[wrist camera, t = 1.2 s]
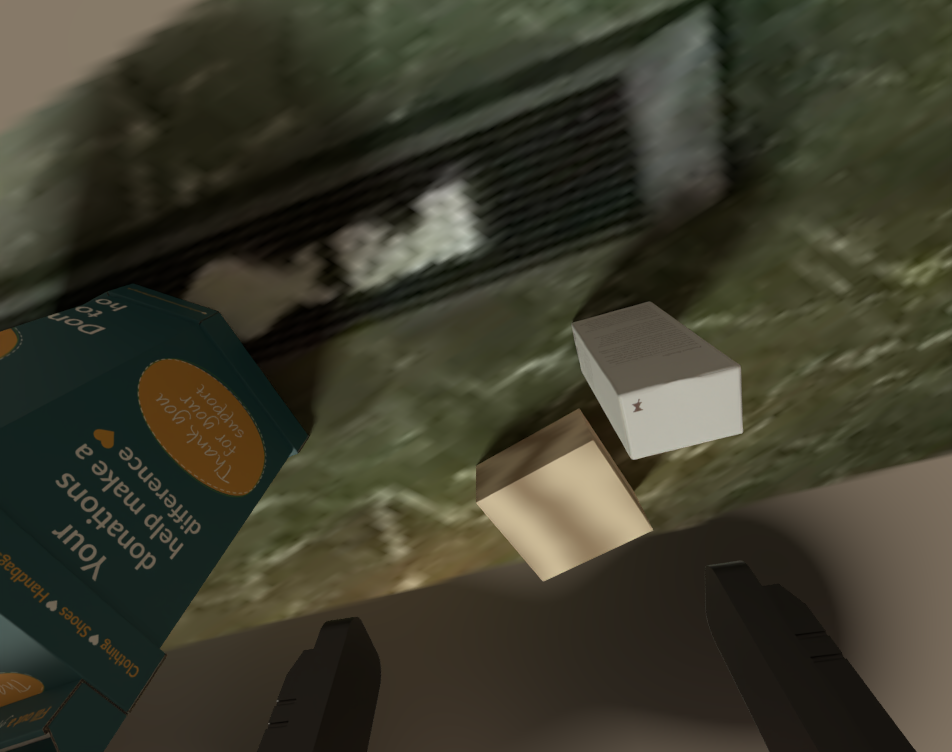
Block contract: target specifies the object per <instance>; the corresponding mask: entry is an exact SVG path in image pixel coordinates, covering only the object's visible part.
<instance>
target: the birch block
mask: <svg viewBox="0 0 952 752" xmlns="http://www.w3.org/2000/svg"><path fill="white" fill-rule="evenodd" d="M476 503H477V504H478V506H479V507H480V508H481V509H482V510H483V511H484V513H485V514H486V515H487V516H488V517H489V518H490V520H491V521H492V522H493V523H494V524H495V526H496V527H497V528H498V529H499V530H500V531H501V533H502V534H503V535H504V536H505V537H506V538H507V540H508V541H509V542H510V543H511V544H512V546H513V547H514V548H515V549H516V550H517V551H518V553H519V554H520V555H521V556H522V557H523V558H524V560H525V561H526V562H527V563H528V564H529V566H530V567H531V568H532V569H533V570H534V571H535V573H536V574H537V575H538V576H539V577H540V578H541V580H542V581H545V580H547V579H549V578H552V577H554V576H556V575H558V574H560V573H562V572H565V571H567V570H569V569H571V568H573V567H575V566H577V565H580V564H582V563H584V562H586V561H588V560H590V559H592V558H595V557H597V556H599V555H601V554H603V553H605V552H607V551H610V550H612V549H614V548H616V547H618V546H620V545H622V544H624V543H626V542H629V541H631V540H633V539H635V538H637V537H640V536H642V535H644V534H646V533H648V532H650V531H652V530H653V529H652V527H651V525H650V523H649V521H648V519H647V517H646V515H645V513H644V511H643V509H642V507H641V505H640V503H639V501H638V498H637V496H636V494H635V492H634V491H633V489H632V488H631V486H630V485H629V483H628V482H627V480H626V478H625V477H624V475H623V474H622V472H621V471H620V469H619V468H618V466H617V465H616V463H615V462H614V460H613V459H612V457H611V456H610V454H609V453H608V451H607V450H606V448H605V447H604V445H603V444H602V442H601V441H600V439H599V438H598V436H597V434H596V433H595V431H594V430H593V428H592V427H591V425H590V424H589V422H588V421H587V419H586V418H585V416H584V415H583V413H582V412H581V410H580V409H577V410H575V411H573V412H571V413H570V414H568V415H566V416H564V417H562V418H561V419H559V420H557V421H555V422H554V423H552V424H550V425H548V426H546V427H545V428H543V429H541V430H539V431H537V432H536V433H534V434H532V435H530V436H528V437H527V438H525V439H523V440H521V441H519V442H518V443H516V444H514V445H512V446H511V447H509V448H507V449H505V450H503V451H502V452H500V453H498V454H496V455H494V456H493V457H491V458H489V459H487V460H485V461H484V462H482V463H480V464H478V465H477V466H476Z"/></svg>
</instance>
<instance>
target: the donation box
mask: <svg viewBox="0 0 952 752" xmlns="http://www.w3.org/2000/svg"><path fill="white" fill-rule="evenodd" d="M308 438H309V436H308V435H307V433H306V432H305V431H304V429H303V428H302V426H301V425H300V424H299V422H298V421H297V419H296V418H295V417H294V415H293V414H292V413H291V411H290V410H289V408H288V407H287V406H286V404H285V403H284V402H283V400H282V399H281V397H280V396H279V395H278V393H277V392H276V391H275V389H274V388H273V386H272V385H271V384H270V382H269V381H268V379H267V378H266V376H265V375H264V374H263V372H262V371H261V370H260V368H259V367H258V366H257V364H256V363H255V361H254V360H253V359H252V357H251V356H250V354H249V353H248V352H247V350H246V349H245V347H244V346H243V345H242V343H241V342H240V340H239V339H238V338H237V336H236V335H235V333H234V332H233V331H232V329H231V328H230V326H229V325H228V324H227V322H226V321H225V320H224V318H223V317H222V315H221V314H220V313H219V312H218V311H215V310H212V309H209V308H206V307H203V306H200V305H197V304H194V303H191V302H188V301H185V300H182V299H179V298H176V297H173V296H170V295H167V294H163V293H160V292H158V291H154V290H151V289H148V288H145V287H142V286H139V285H136V284H130V285H126V286H123V287H120V288H117V289H114V290H110V291H107V292H105V293H103V294H102V295H100V296H98V297H96V298H94V299H92V300H91V301H89V302H87V303H85V304H83V305H81V306H78V307H75V308H72V309H69V310H66V311H62V312H59V313H56V314H53V315H50V316H47V317H44V318H41V319H38V320H35V321H32V322H29V323H26V324H23V325H20V326H17V327H14V328H11V329H7V330H4V331H1V332H0V752H104V750H105V749H106V747H107V745H108V744H109V742H110V741H111V739H112V738H113V736H114V735H115V733H116V732H117V730H118V729H119V727H120V725H121V724H122V722H123V721H124V719H125V718H126V716H127V715H128V713H130V712H131V711H132V710H133V708H134V706H135V705H136V703H137V702H138V700H139V698H140V697H141V696H142V694H143V693H144V691H145V689H146V688H147V686H148V685H149V683H150V682H151V680H152V679H153V677H154V676H155V674H156V673H157V671H158V669H159V668H160V666H161V665H162V663H163V661H164V660H165V659H166V657H167V654H165V653H164V652H163V651H162V650H160V647H161V646H162V644H163V643H164V641H165V640H166V638H167V637H168V635H169V634H170V632H171V631H172V629H173V628H174V626H175V625H176V623H177V622H178V620H179V619H180V618H181V616H182V615H183V613H184V612H185V610H186V609H187V607H188V606H189V604H190V603H191V601H192V600H193V598H194V597H195V595H196V594H197V592H198V591H199V589H200V588H201V586H202V585H203V583H204V582H205V580H206V579H207V577H208V576H209V574H210V573H211V571H212V570H213V569H214V567H215V566H216V564H217V563H218V561H219V560H220V558H221V557H222V555H223V554H224V552H225V551H226V549H227V548H228V546H229V545H230V543H231V542H232V540H233V539H234V537H235V536H236V534H237V533H238V531H239V530H240V528H241V527H242V525H243V524H244V522H245V521H246V520H247V518H248V517H249V515H250V514H251V512H252V511H253V509H254V508H255V506H256V505H257V503H258V502H259V500H260V499H261V497H262V496H263V494H264V493H265V491H266V490H267V488H268V487H269V485H270V484H271V482H272V481H273V479H274V478H275V476H276V475H277V473H278V472H279V471H280V469H281V468H282V466H283V465H284V463H285V462H286V460H287V459H288V457H290V456H293V455H295V454H297V453H299V452H300V451H301V449H302V448H303V446H304V444H305V443H306V441H307V440H308Z"/></svg>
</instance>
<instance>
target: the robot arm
mask: <svg viewBox="0 0 952 752" xmlns="http://www.w3.org/2000/svg"><path fill="white" fill-rule="evenodd" d="M705 600H706V601H705V603H706V616H707V620H708V624H709V627H710V631H711V633H712V636H713V638H714V641H715V643H716V645H717V647H718V649H719V651H720V653H721V655H722V657H723V659H724V661H725V663H726V665H727V667H728V669H729V671H730V673H731V675H732V677H733V679H734V681H735V683H736V685H737V687H738V689H739V691H740V693H741V695H742V697H743V699H744V701H745V703H746V705H747V707H748V709H749V711H750V713H751V715H752V718H753V720H754V721H755V724H756V725H757V727H758V729H759V732H760V734H761V736H762V737H763V739H764V742H765V744H766V746H767V748H768V750H769V752H916V750H915V749H914V748H913V747H912V745H911V744H910V743H909V741H908V740H907V739H906V737H905V736H904V735H903V733H902V732H901V731H900V730H899V728H898V727H897V726H896V724H895V723H894V721H893V720H892V719H891V718H890V716H889V715H888V713H887V712H886V711H885V709H884V708H883V707H882V705H881V704H880V703H879V701H878V700H877V699H876V697H875V696H874V695H873V693H872V692H871V691H870V689H869V688H868V687H867V685H866V684H865V683H864V681H863V680H862V679H861V677H860V676H859V675H858V674H857V672H856V671H855V669H854V668H853V667H852V665H851V664H850V663H849V661H848V660H847V659H845V658H844V657H843V655H842V652H841V651H840V650H839V648H838V647H837V645H836V644H835V643H834V641H833V640H832V639H831V637H830V636H828V635H827V634H826V632H825V629H824V628H823V627H822V625H821V624H820V623H819V621H818V620H817V619H816V617H815V616H814V615H813V613H812V612H811V611H810V609H809V608H808V607H807V605H806V604H805V603H803V602H802V601H801V600H799V599H798V598H797V597H796V596H794V595H793V594H792V593H790V592H789V591H788V590H786V589H785V588H784V587H782V586H781V585H780V584H773V585H767V586H762V585H761V584H760V583H759V581H758V579H757V578H756V576H755V575H754V573H753V572H752V571H751V569H750V568H749V566H748V565H747V564H746V563H745V562H743V561H734V562H728V563H721V564H714V565H708V566H706V567H705ZM380 683H381V665H380V659H379V656H378V653H377V651H376V649H375V647H374V646H373V643H372V641H371V639H370V637H369V635H368V633H367V631H366V629H365V627H364V625H363V623H362V621H361V619H360V618H359V617H351V618H345V619H339V620H331V621H327V622H325V623H324V625H323V626H322V628H321V630H320V633H319V636H318V639H317V641H316V644H315V647H314V649H310V650H304V651H303V653H302V654H301V656H300V657H299V658H298V660H297V661H296V663H295V664H294V666H293V667H292V668H291V669H290V671H289V672H288V674H287V676H286V678H285V681H284V684H283V686H282V689H281V691H280V694H279V696H278V699H277V706H275V707H274V709H273V712H272V714H271V717H270V720H269V722H268V729H266V730H265V733H264V735H263V738H262V740H261V743H260V745H259V748H258V751H257V752H367V749H368V745H369V739H370V734H371V729H372V724H373V719H374V714H375V709H376V704H377V699H378V694H379V689H380Z"/></svg>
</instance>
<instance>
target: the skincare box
mask: <svg viewBox="0 0 952 752" xmlns="http://www.w3.org/2000/svg"><path fill="white" fill-rule="evenodd" d="M572 329H573V334H574V339H575V344H576V348H577V353H578V357H579V361H580V366H581V371H582V373H583V375H584V376H585V378H586V380H587V382H588V384H589V385H590V387H591V389H592V391H593V392H594V394H595V396H596V398H597V400H598V401H599V403H600V405H601V407H602V408H603V410H604V412H605V414H606V415H607V417H608V419H609V421H610V423H611V424H612V426H613V428H614V430H615V431H616V433H617V435H618V437H619V438H620V440H621V442H622V444H623V445H624V447H625V449H626V451H627V453H628V455H629V456H630V458H631V459H633V460H635V459H639V458H643V457H647V456H651V455H655V454H659V453H663V452H667V451H671V450H675V449H679V448H683V447H688V446H692V445H696V444H700V443H704V442H708V441H712V440H716V439H720V438H724V437H728V436H732V435H737V434H741V433H743V423H742V389H741V366H740V365H739V364H738V363H736V362H735V361H733V360H732V359H730V358H729V357H728V356H726V355H725V354H723V353H722V352H721V351H719V350H718V349H716V348H715V347H713V346H712V345H711V344H709V343H708V342H706V341H705V340H704V339H702V338H701V337H699V336H698V335H697V334H695V333H694V332H692V331H691V330H690V329H688V328H687V327H685V326H684V325H683V324H681V323H680V322H679V321H677V320H676V319H674V318H673V317H672V316H670V315H669V314H667V313H666V312H665V311H663V310H662V309H660V308H659V307H658V306H656V305H655V304H653V303H652V302H650V301H649V302H645V303H642V304H638V305H634V306H631V307H627V308H624V309H620V310H616V311H613V312H609V313H606V314H602V315H598V316H595V317H591V318H588V319H584V320H580V321H576V322H573V323H572Z"/></svg>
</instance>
